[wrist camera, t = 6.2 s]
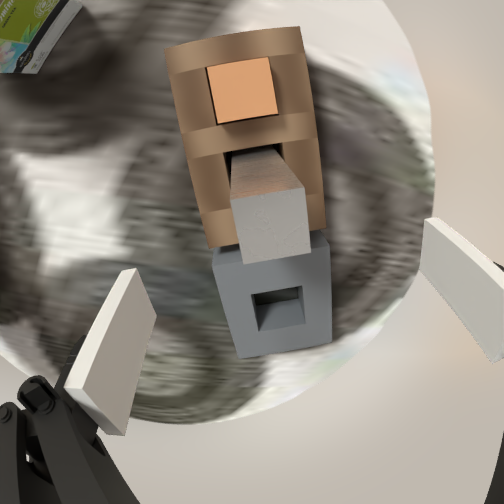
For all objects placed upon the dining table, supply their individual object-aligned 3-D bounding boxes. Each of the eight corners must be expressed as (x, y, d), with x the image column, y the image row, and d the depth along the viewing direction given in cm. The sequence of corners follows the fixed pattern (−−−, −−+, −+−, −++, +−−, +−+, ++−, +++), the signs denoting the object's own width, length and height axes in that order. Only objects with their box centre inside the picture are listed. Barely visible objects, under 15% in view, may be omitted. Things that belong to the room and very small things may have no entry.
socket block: (211, 232, 34) (209, 248, 31) (172, 54, 25) (163, 48, 21) (316, 213, 34) (326, 228, 30) (291, 35, 24) (299, 26, 21)
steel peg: (239, 187, 32) (243, 264, 18) (232, 151, 30) (229, 199, 16) (276, 181, 32) (311, 252, 18) (270, 144, 30) (304, 187, 16)
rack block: (238, 332, 42) (238, 358, 37) (214, 243, 35) (211, 266, 30) (322, 317, 41) (331, 342, 37) (317, 225, 34) (329, 245, 30)
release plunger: (220, 120, 28) (218, 123, 23) (211, 72, 25) (206, 67, 21) (271, 111, 28) (278, 113, 23) (262, 64, 25) (268, 57, 21)
